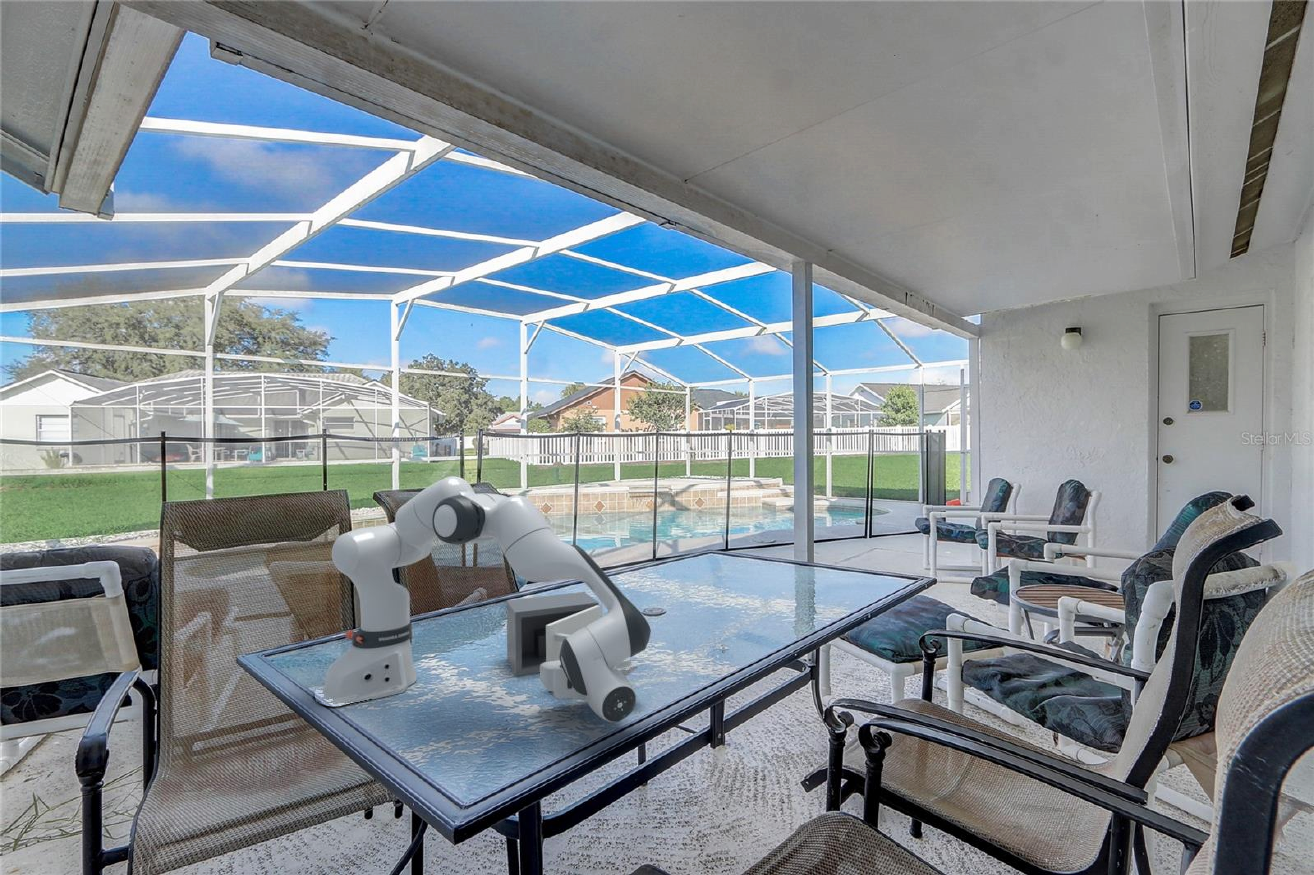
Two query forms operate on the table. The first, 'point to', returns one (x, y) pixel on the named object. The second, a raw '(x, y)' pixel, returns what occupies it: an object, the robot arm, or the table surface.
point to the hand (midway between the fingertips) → (577, 657)
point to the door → (567, 630)
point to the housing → (537, 627)
